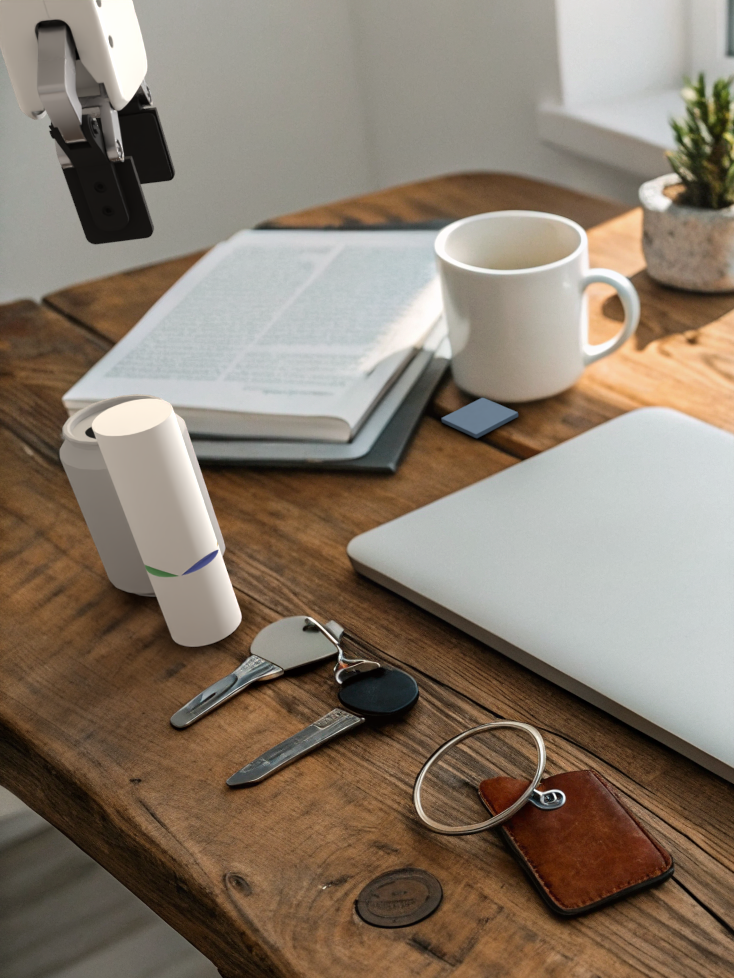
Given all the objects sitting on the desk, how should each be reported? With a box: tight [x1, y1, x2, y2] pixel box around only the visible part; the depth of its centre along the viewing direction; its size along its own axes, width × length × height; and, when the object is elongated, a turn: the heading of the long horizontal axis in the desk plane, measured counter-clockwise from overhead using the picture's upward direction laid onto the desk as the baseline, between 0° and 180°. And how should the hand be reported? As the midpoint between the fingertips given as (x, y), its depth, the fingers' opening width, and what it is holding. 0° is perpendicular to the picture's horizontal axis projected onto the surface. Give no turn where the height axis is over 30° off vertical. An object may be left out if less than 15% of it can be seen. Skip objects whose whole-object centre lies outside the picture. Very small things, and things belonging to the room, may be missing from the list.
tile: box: [440, 397, 519, 439], centre depth 94 cm, size 4×4×1 cm
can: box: [59, 393, 226, 598], centre depth 76 cm, size 8×8×12 cm
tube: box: [92, 399, 243, 648], centre depth 70 cm, size 4×4×15 cm
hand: (135, 208), depth 64 cm, fingers open, 9 cm apart
